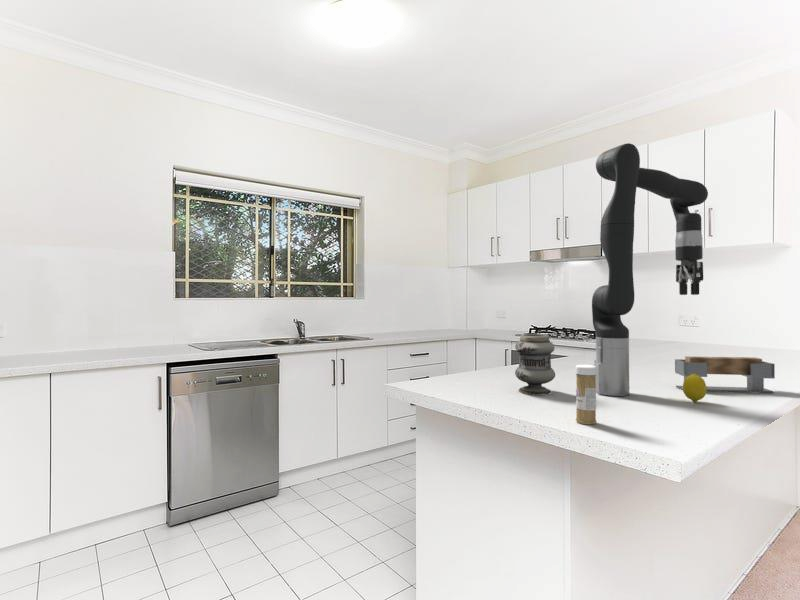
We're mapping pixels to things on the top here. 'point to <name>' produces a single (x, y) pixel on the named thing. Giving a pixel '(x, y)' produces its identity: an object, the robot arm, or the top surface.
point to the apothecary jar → (535, 363)
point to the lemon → (694, 387)
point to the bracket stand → (753, 385)
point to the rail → (726, 364)
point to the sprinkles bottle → (586, 394)
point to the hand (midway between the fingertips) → (689, 294)
